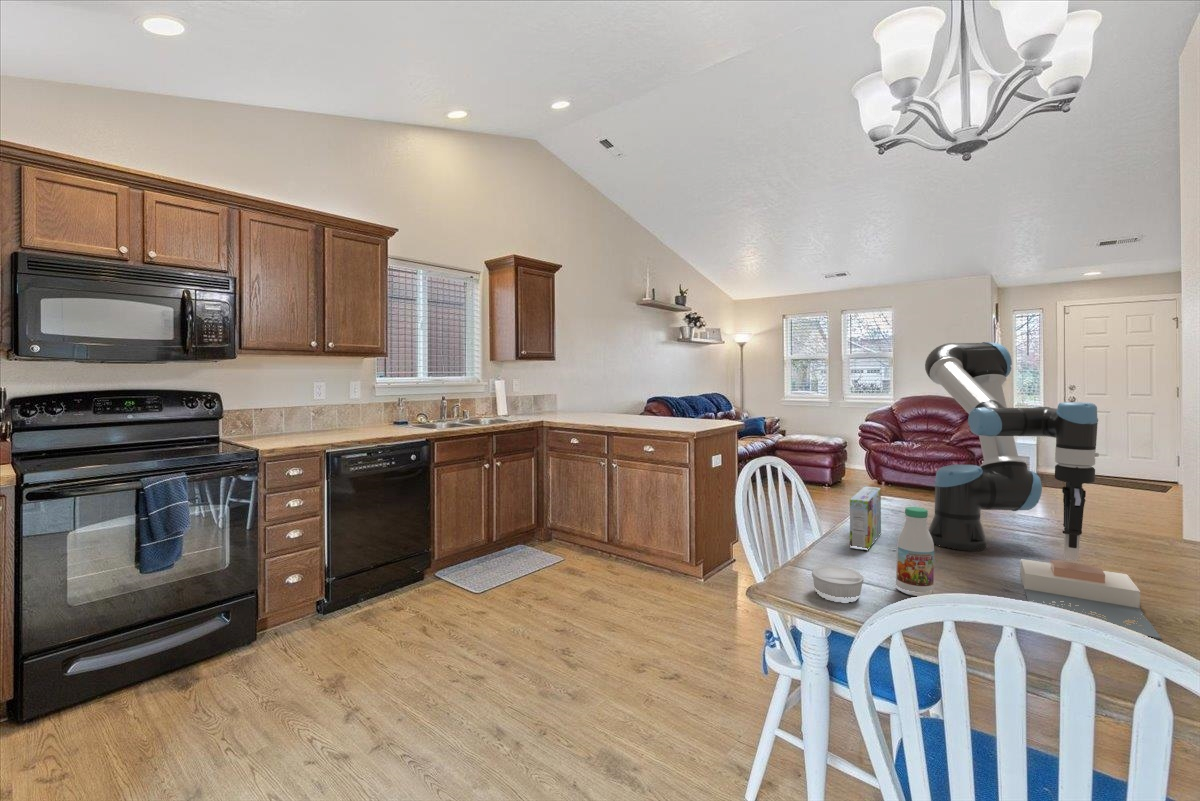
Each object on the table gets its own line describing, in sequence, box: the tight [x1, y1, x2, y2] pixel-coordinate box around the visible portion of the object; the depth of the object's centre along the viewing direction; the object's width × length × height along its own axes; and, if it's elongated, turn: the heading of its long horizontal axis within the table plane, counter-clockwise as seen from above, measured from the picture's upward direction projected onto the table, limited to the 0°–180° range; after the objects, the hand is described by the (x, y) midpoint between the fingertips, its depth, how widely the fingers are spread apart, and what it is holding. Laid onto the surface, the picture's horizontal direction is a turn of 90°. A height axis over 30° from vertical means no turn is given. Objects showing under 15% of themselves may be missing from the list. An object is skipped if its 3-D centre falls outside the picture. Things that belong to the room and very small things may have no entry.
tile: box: [1050, 559, 1105, 583], centre depth 131 cm, size 9×6×2 cm, turn 57°
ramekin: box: [811, 565, 865, 598], centre depth 130 cm, size 11×11×5 cm
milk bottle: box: [895, 506, 935, 592], centre depth 131 cm, size 8×8×20 cm
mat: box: [1024, 589, 1162, 640], centre depth 120 cm, size 20×16×1 cm
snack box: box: [849, 485, 882, 549], centre depth 170 cm, size 21×6×15 cm, turn 144°
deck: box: [1019, 558, 1141, 609], centre depth 132 cm, size 20×12×4 cm, turn 57°
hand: (1071, 559), depth 138 cm, fingers closed
